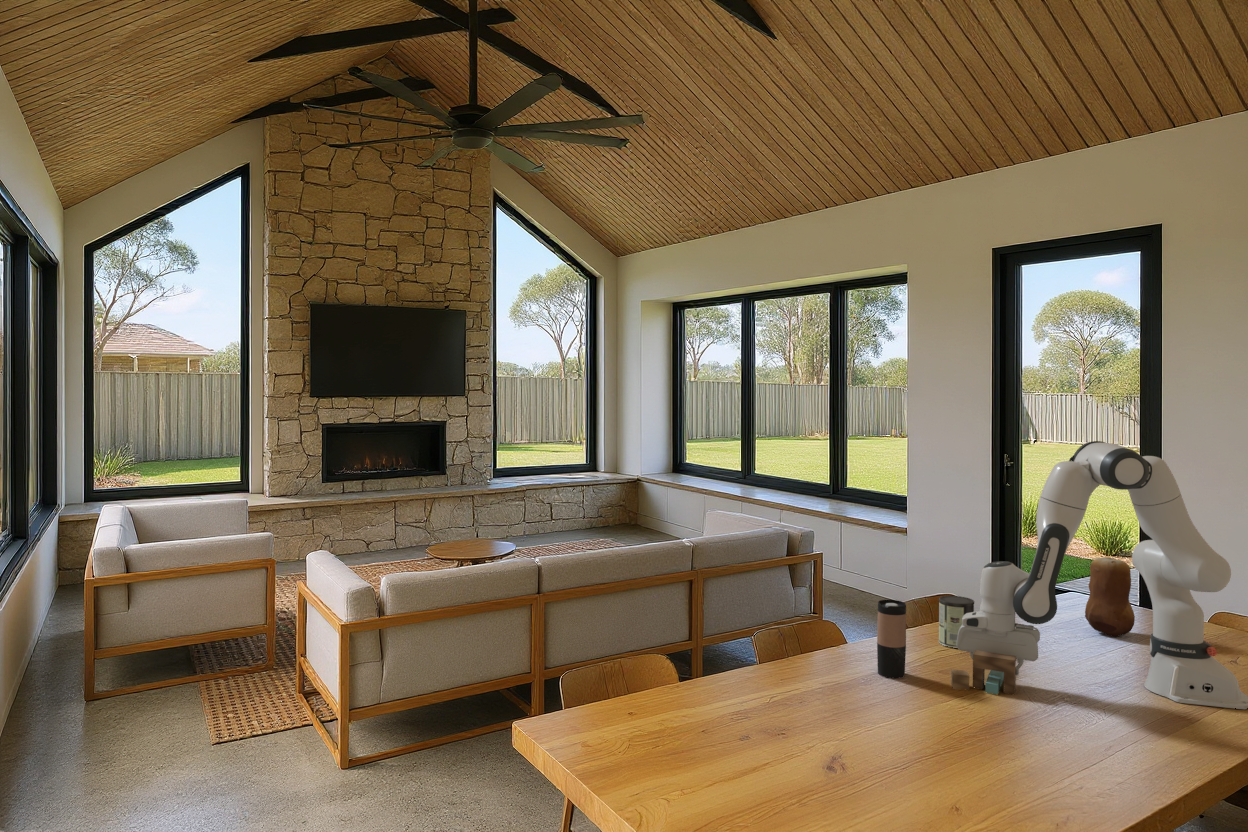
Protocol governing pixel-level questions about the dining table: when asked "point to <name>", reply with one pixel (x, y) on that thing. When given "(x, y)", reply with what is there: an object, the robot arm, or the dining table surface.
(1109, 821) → the dining table surface
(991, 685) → the teal square bar
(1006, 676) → the wooden u-shaped block
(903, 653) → the travel mug
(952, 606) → the coffee can
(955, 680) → the bead cube
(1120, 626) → the butternut squash
